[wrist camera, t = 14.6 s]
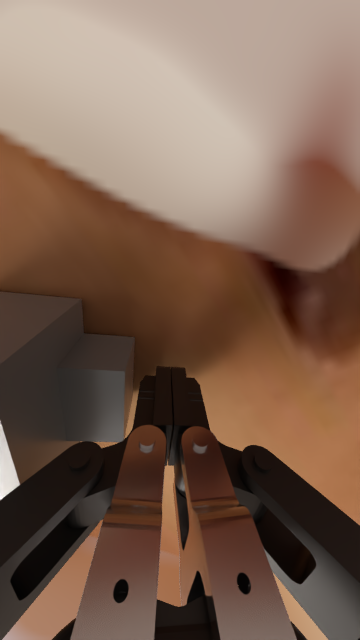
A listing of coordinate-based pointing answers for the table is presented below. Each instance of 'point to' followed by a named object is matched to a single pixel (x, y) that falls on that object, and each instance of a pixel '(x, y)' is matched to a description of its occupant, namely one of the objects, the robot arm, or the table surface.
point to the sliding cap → (56, 383)
